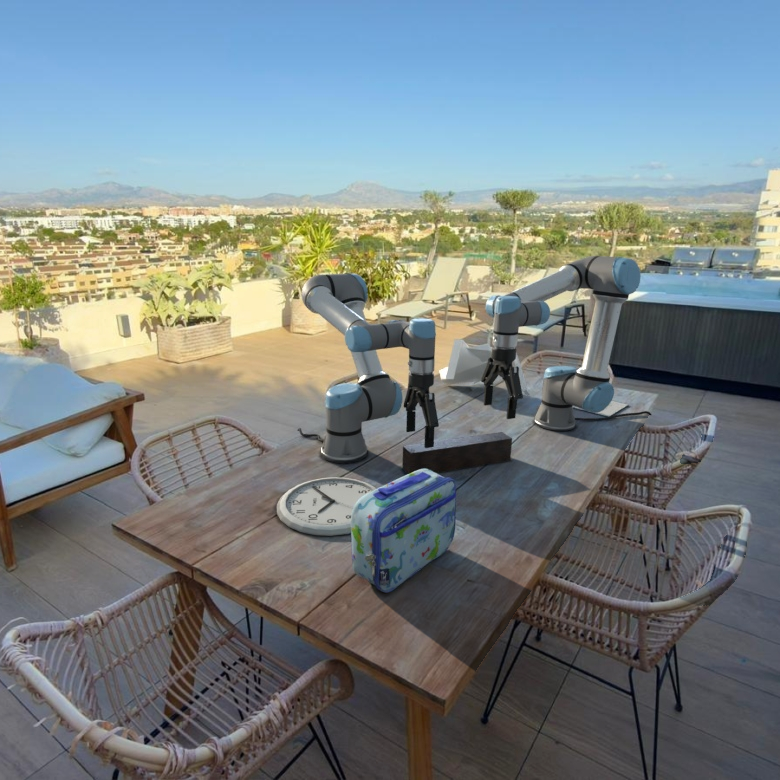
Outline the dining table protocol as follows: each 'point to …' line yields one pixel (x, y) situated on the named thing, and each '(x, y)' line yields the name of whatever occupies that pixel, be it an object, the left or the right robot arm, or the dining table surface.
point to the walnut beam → (458, 453)
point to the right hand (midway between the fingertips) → (498, 411)
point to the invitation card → (610, 408)
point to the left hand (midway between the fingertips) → (419, 439)
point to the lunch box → (402, 527)
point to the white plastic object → (472, 364)
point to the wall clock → (322, 505)
